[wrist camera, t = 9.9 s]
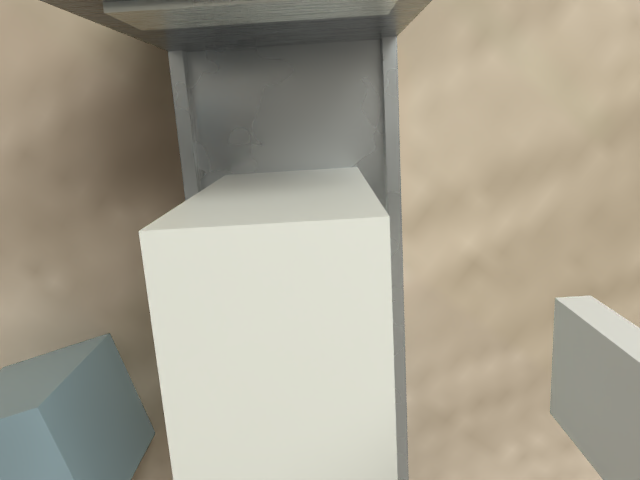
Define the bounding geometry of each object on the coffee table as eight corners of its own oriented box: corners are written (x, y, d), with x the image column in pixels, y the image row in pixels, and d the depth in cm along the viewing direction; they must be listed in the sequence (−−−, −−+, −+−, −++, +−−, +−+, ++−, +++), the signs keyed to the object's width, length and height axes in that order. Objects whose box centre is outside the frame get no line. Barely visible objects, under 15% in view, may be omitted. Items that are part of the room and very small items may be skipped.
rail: (228, 493, 25) (162, 759, 15) (168, -32, 20) (4, -185, 10) (404, 484, 25) (462, 747, 14) (389, -47, 20) (461, -218, 9)
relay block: (53, 463, 24) (-32, 574, 19) (3, 367, 23) (-103, 451, 18) (155, 432, 24) (102, 534, 18) (110, 332, 23) (37, 407, 17)
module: (241, 346, 22) (177, 529, 12) (224, 175, 21) (136, 231, 11) (366, 339, 22) (401, 519, 12) (359, 166, 20) (391, 216, 11)
